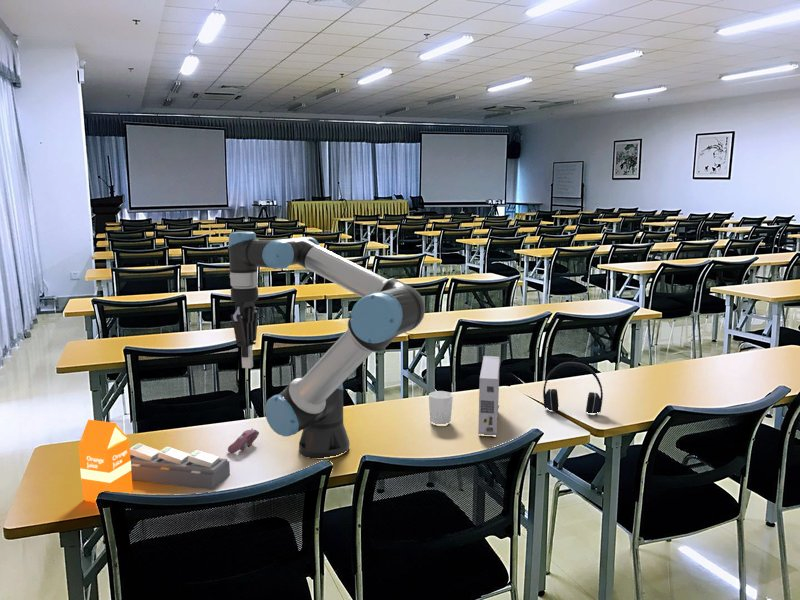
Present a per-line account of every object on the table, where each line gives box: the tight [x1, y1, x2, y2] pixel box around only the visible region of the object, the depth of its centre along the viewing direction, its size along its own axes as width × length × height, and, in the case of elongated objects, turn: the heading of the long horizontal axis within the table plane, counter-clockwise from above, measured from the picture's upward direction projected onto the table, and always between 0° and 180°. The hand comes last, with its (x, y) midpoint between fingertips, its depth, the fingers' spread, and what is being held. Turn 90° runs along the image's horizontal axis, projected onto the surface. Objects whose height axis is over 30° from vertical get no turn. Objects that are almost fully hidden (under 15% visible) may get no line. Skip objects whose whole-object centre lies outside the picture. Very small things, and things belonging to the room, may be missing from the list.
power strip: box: [130, 455, 231, 490], centre depth 171 cm, size 28×9×5 cm, turn 76°
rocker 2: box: [158, 446, 191, 464], centre depth 170 cm, size 7×4×2 cm, turn 76°
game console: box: [477, 355, 501, 436], centre depth 209 cm, size 6×27×20 cm, turn 170°
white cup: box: [428, 390, 454, 424], centre depth 210 cm, size 8×8×10 cm
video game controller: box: [227, 427, 260, 454], centre depth 190 cm, size 10×5×7 cm, turn 161°
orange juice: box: [77, 419, 134, 503], centre depth 159 cm, size 8×9×20 cm
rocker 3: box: [188, 449, 221, 468], centre depth 168 cm, size 7×4×2 cm, turn 76°
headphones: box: [542, 361, 604, 414], centre depth 220 cm, size 20×7×18 cm, turn 74°
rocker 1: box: [129, 442, 160, 461], centre depth 173 cm, size 7×4×2 cm, turn 76°
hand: (247, 367), depth 182 cm, fingers closed
